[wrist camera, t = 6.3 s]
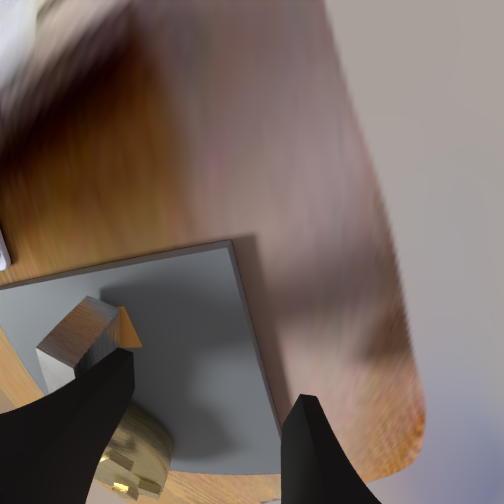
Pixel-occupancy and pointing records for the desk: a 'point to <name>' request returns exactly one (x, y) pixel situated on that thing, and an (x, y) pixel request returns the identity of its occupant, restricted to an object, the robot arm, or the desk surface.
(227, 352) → the base plate
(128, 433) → the gold rounded piece
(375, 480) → the desk surface
